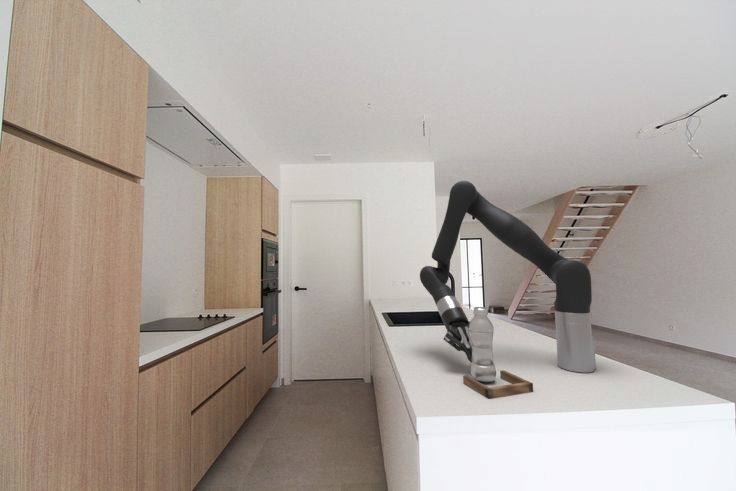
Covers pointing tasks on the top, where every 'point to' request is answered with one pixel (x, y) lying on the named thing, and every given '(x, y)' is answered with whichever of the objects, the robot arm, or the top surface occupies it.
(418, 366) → the top surface
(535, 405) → the top surface
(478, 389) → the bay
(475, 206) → the robot arm
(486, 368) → the plastic bottle
